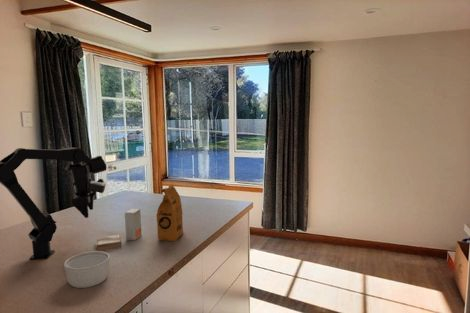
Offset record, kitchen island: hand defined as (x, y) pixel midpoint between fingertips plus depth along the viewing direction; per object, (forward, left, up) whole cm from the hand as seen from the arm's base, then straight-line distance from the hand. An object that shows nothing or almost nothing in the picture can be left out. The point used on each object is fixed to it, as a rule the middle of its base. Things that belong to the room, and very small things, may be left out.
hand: (89, 213), depth 136 cm
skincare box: (+1, -17, -12) cm, 21 cm away
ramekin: (-34, -10, -12) cm, 38 cm away
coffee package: (0, -33, -12) cm, 35 cm away
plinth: (-6, -9, -12) cm, 16 cm away
